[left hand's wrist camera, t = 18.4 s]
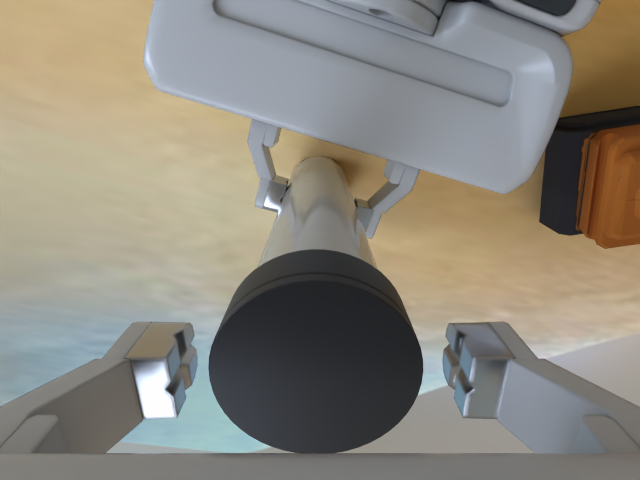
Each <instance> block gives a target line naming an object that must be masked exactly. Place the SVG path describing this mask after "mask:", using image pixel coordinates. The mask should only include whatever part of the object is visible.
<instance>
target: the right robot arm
mask: <svg viewBox="0 0 640 480" xmlns="http://www.w3.org/2000/svg"><path fill="white" fill-rule="evenodd" d="M601 1H602V0H154V3H153V7H152V11H151V15H150V20H149V25H148V30H147V36H146V42H145V48H144V55H143V63H144V67H145V69H146V71H147V73H148V75H149V77H150V79H151V81H152V83H153V84H154V86H155V88H156V89H157V90H159V91H161V92H164V93H167V94H171V95H174V96H177V97H181V98H184V99H187V100H191V101H194V102H197V103H201V104H204V105H207V106H211V107H214V108H217V109H221V110H224V111H227V112H231V113H234V114H237V115H241V116H244V117H247V118H251V119H252V122H251V127H250V131H249V136H248V141H247V142H248V145H249V148H250V151H251V154H252V157H253V161H254V164H255V167H256V170H257V173H258V176H259V177H260V178H261V180H260V184H259V188H258V192H257V197H256V201H255V207H258V208H261V209H266V210H270V211H273V212H277V213H278V210H279V207H280V205H281V202H282V199H283V196H284V194H285V192H286V189H287V186H288V182H289V179H287V178H284V177H281V176H278V175H276V172H275V168H274V164H273V161H272V157H271V153H270V150H269V147H271V148H272V147H273V146H274V145H275V144H276V143H277V142H278V140H279V136H280V132H281V128H284V129H287V130H291V131H294V132H297V133H301V134H304V135H307V136H311V137H314V138H317V139H321V140H324V141H327V142H331V143H334V144H337V145H341V146H344V147H347V148H351V149H354V150H357V151H361V152H364V153H367V154H371V155H374V156H377V157H381V158H384V159H387V163H386V166H385V169H384V172H383V174H384V176H385V177H386V178H387V179H388V180H389V181H388V182H387V183H386V184H385V185H384V186H383V187H382V188H381V189H380V190H378V191H377V192H376V193H375V194H374V195H373V196H372V197H371V198H370V199H369V200H368V201H365V200H361V199H357V198H355V199H354V202H355V204H356V207H357V210H358V213H359V216H360V219H361V222H362V225H363V228H364V231H365V234H366V237H367V238H370V239H371V238H372V237H373V236H374V234H375V231H376V228H377V226H378V223H379V220H380V217H381V215H382V212H383V213H385V212H386V211H387V210H388V209H390V208H391V207H392V206H393V205H395V204H396V203H397V202H398V201H399V200H401V199H402V198H403V197H404V196H405V195H407V194H408V193H409V192H410V191H411V190H412V189H413V186H414V184H415V181H416V179H417V176H418V174H419V171H420V170H424V171H427V172H430V173H434V174H437V175H440V176H444V177H447V178H450V179H454V180H457V181H460V182H464V183H467V184H470V185H474V186H477V187H480V188H484V189H487V190H490V191H494V192H497V193H501V194H507V193H509V192H511V191H513V190H515V189H516V188H518V187H519V186H521V185H522V184H524V183H525V182H527V181H528V180H529V179H530V177H531V176H532V174H533V173H534V171H535V169H536V167H537V165H538V163H539V161H540V159H541V157H542V155H543V153H544V151H545V149H546V147H547V145H548V142H549V140H550V138H551V135H552V133H553V131H554V128H555V126H556V123H557V121H558V119H559V116H560V114H561V111H562V108H563V106H564V103H565V100H566V97H567V94H568V92H569V88H570V85H571V80H572V75H573V58H572V53H571V50H570V48H569V46H568V44H567V43H566V42H565V40H564V39H563V38H562V36H565V35H568V34H570V33H573V32H575V31H578V30H580V29H582V28H584V27H585V26H586V25H587V24H588V23H589V22H590V21H591V19H592V18H593V16H594V15H595V13H596V11H597V9H598V7H599V4H600V3H601Z"/></svg>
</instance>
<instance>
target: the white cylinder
mask: <svg viewBox="0 0 640 480" xmlns="http://www.w3.org/2000/svg"><path fill="white" fill-rule="evenodd" d="M309 249H325V250H332V251H338V252H342V253H346V254H349V255H352V256H354V257H357V258H359V259H362V260H363V261H365V262H367V263H369V264H370V265H372V266H373V267H375V268H376V269H377V266H376V263H375V260H374V257H373V254H372V251H371V248H370V246H369V243H368V240H367V237H366V234H365V231H364V228H363V225H362V222H361V219H360V216H359V213H358V210H357V207H356V204H355V202H354V199H353V196H352V193H351V190H350V187H349V184H348V181H347V178H346V175H345V173H344V171H343V169H342V168H341V167H340V165H339V164H338V163H336V162H335V161H334V160H332V159H330V158H327V157H322V156H315V157H310V158H307V159H305V160H303V161H302V162H300V163H299V164H298V165H297V166H296V168H295V169H294V171H293V172H292V175H291V178H290V180H289V183H288V186H287V189H286V192H285V194H284V196H283V199H282V202H281V205H280V207H279V210H278V213H277V215H276V218H275V221H274V223H273V226H272V229H271V232H270V234H269V237H268V240H267V242H266V245H265V248H264V250H263V253H262V256H261V259H260V261H259V264H258V267H259V266H261V265H262V264H264V263H266V262H267V261H269V260H271V259H273V258H275V257H278V256H281V255H283V254H286V253H291V252H295V251H300V250H309ZM258 267H257V268H258ZM377 270H378V269H377Z"/></svg>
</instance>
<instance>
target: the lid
mask: <svg viewBox="0 0 640 480" xmlns="http://www.w3.org/2000/svg"><path fill="white" fill-rule="evenodd" d="M422 375H423V358H422V353H421V348H420V345H419V342H418V339H417V337H416V334H415V332H414V329H413V327H412V324H411V322H410V320H409V317H408V315H407V312H406V310H405V307H404V305H403V302H402V300H401V298H400V296H399V294H398V292H397V290H396V289H395V287H394V286H393V285H392V283H391V282H390V281H389V280H388V279H387V278H386V277H385V276H384V275H383V274H382V273H381V272H380V271H379V270H377V269H376V268H375V267H373V266H372V265H370V264H369V263H367V262H365V261H363V260H362V259H359V258H357V257H354V256H352V255H349V254H346V253H342V252H338V251H332V250H325V249H309V250H300V251H295V252H291V253H286V254H283V255H281V256H278V257H275V258H273V259H271V260H269V261H267V262H266V263H264V264H262V265H261V266H259V267H258V268H257V269H255V270H254V271H253V272H252V273H251V274H249V275H248V276H247V277H246V278H245V279H244V281H243V282H242V283H241V284H240V286H239V287H238V289H237V290H236V292H235V294H234V295H233V297H232V300H231V302H230V304H229V306H228V309H227V311H226V313H225V315H224V318H223V320H222V322H221V325H220V327H219V329H218V331H217V334H216V336H215V339H214V341H213V344H212V347H211V351H210V356H209V376H210V382H211V386H212V390H213V393H214V395H215V397H216V399H217V402H218V403H219V405H220V406H221V408H222V410H223V411H224V413H225V414H226V415H227V416H228V417H229V418H230V420H231V421H232V422H233V423H234V424H235V425H237V426H238V427H239V428H240V429H241V430H243V431H244V432H245V433H247V434H248V435H249V436H251V437H253V438H255V439H257V440H258V441H260V442H262V443H265V444H267V445H269V446H272V447H275V448H278V449H281V450H285V451H290V452H295V453H338V452H343V451H348V450H351V449H354V448H358V447H360V446H363V445H365V444H368V443H370V442H372V441H374V440H376V439H378V438H380V437H381V436H383V435H384V434H385V433H387V432H388V431H390V430H391V429H392V428H393V427H395V426H396V425H397V424H398V423H399V422H400V421H401V420H402V419H403V417H404V416H405V415H406V414H407V413H408V411H409V410H410V408H411V407H412V405H413V403H414V401H415V399H416V397H417V395H418V392H419V389H420V386H421V382H422Z"/></svg>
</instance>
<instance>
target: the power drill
mask: <svg viewBox="0 0 640 480" xmlns="http://www.w3.org/2000/svg"><path fill="white" fill-rule="evenodd" d="M539 222H540V223H542V224H543V225H545V226H547V227H548V228H550V229H552V230H553V231H555V232H557V233H558V234H563V235H569V236H570V235H577V234H584V235H585V236H586V237H588V238H590V239H595V241H596V244H597V245H599V246H601V247H603V248H605V249H606V248H614V247H621V246H628V245H635V244H640V106H634V107H628V108H621V109H615V110H608V111H602V112H595V113H588V114H582V115H575V116H569V117H562V118H559V119H558V121H557V123H556V126H555V128H554V131H553V133H552V135H551V138H550V140H549V142H548V145H547V147H546V152H545V164H544V175H543V186H542V197H541V208H540V220H539Z"/></svg>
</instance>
